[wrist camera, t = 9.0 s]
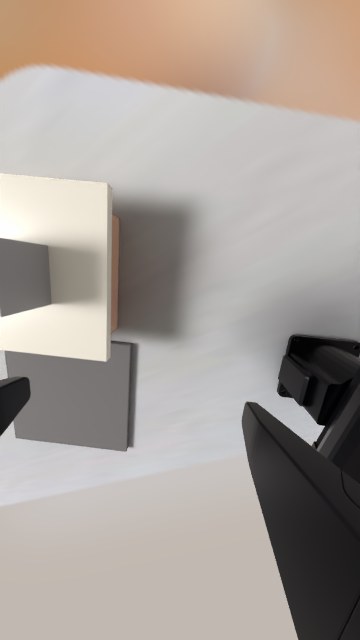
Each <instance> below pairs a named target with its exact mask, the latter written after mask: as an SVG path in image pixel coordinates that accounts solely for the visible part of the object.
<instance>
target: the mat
mask: <svg viewBox="0 0 360 640" xmlns="http://www.w3.org/2000/svg"><path fill="white" fill-rule="evenodd" d="M131 350H132V343H124V342H115V341H111V345H110V358H109V359H108V360H107V362H104V361H96V360H87V359H78V358H69V357H60V356H51V355H42V354H33V353H24V352H15V351H6V350H5V358H6V365H7V373H8V378H10V377H14V376H25V377H28V378H29V380H30V390H31V396H30V399H29V401H28V402H27V403H26V405H25V406H24V407H23V408H22V410H21V411H20V412H19V414H18V415H17V416H16V417H15V419H14V428H15V436H16V438H20V439H28V440H36V441H44V442H52V443H60V444H68V445H77V446H85V447H93V448H101V449H109V450H117V451H127V448H128V429H129V403H130V376H131Z"/></svg>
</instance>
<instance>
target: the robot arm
mask: <svg viewBox="0 0 360 640" xmlns="http://www.w3.org/2000/svg"><path fill="white" fill-rule="evenodd" d="M294 339H297V341H296V342H294ZM355 345H356V346H355ZM354 346H355V348H353V347H354ZM359 354H360V343H359V342H357V341H351V340H341V339H332V338H322V337H313V336H303V335H292V336H291V337H290V338H289V342H288V346H287V350H286V354H285V356H283V360H282V364H281V368H280V373H279V377H278V379H279V384H278V388H277V392H278V394H279V395H280V396H282V397H289V398H294V399H295V401H296V402H297V403H298V404H299V405H300V406H303V407H304V408H305V409H306V410H307V412H308V413H309V414H310V415H311V416H312V418H313V419H314V420H315V421H316V423H317V424H318V425H323V426H325V427H324V429H323V431H322V432H321V434H320V436H319V438H318V439H317V441H316V442H314V443H313V444H312V446H310V445H309V444H308V443H307V442H305V441H304V440H303V439H302V438H300V437H299V436H298V435H297V434H295V433H294V432H293V431H292V430H290V429H289V428H288V427H286V426H285V425H284V424H283V423H281V422H280V421H279V420H278V419H276V418H275V417H274V416H273V415H271V414H270V413H269V412H267V411H266V410H265V409H264V408H262V407H261V406H260V405H259V404H257V403H255V402H246V403H245V406H244V411H243V416H242V428H243V434H244V440H245V445H246V451H247V457H248V462H249V466H250V470H251V474H252V478H253V481H254V485H255V488H256V492H257V495H258V499H259V502H260V506H261V509H262V513H263V516H264V520H265V523H266V527H267V531H268V534H269V538H270V541H271V545H272V548H273V552H274V555H275V559H276V562H277V566H278V569H279V573H280V577H281V580H282V583H283V587H284V590H285V594H286V598H287V601H288V605H289V608H290V611H291V615H292V619H293V622H294V626H295V630H296V633H297V637H298V640H360V358H358V357H359ZM283 390H285V391H284V392H281V391H283ZM30 396H31V390H30V380H29V378H28V377H25V376H14V377H10V378H7V379H3V380H0V436H1V435H2V434H3V433H4V431H5V430H6V429H7V428H8V426H9V425H10V424H11V422H12V421H13V420H14V419H15V417H16V416H17V415H18V414H19V412H20V411H21V410H22V408H23V407H24V406H25V405H26V403H27V402H28V401H29V399H30Z"/></svg>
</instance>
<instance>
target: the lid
mask: <svg viewBox="0 0 360 640" xmlns="http://www.w3.org/2000/svg"><path fill="white" fill-rule="evenodd" d="M111 258H112V187H111V186H110V185H109V184H108V183H102V182H91V181H79V180H68V179H56V178H45V177H34V176H22V175H11V174H0V350H6V351H15V352H24V353H33V354H42V355H51V356H60V357H69V358H78V359H87V360H96V361H104V362H107V360H108V359H109V358H110V345H111Z"/></svg>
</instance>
